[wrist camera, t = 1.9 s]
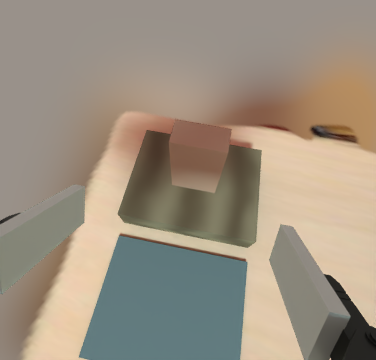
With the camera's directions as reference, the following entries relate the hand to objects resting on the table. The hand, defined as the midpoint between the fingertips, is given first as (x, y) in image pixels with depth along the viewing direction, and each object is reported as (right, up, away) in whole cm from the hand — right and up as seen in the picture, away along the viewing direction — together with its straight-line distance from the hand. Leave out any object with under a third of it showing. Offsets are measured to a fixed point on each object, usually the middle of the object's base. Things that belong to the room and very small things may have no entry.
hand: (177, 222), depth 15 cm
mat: (-1, -13, +14) cm, 19 cm away
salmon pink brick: (+2, +3, +17) cm, 17 cm away
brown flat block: (+2, +1, +21) cm, 21 cm away
